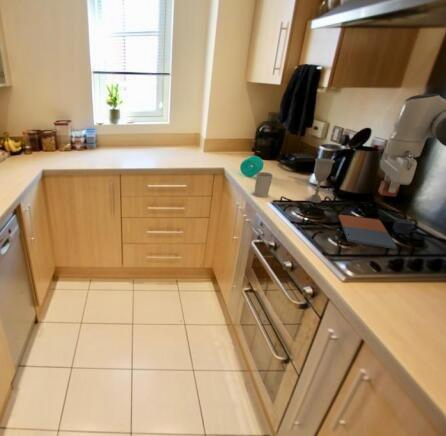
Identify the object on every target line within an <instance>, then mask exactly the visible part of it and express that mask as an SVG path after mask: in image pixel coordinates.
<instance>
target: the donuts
mask: <svg viewBox="0 0 446 436" xmlns="http://www.w3.org/2000/svg"><path fill="white" fill-rule="evenodd" d="M239 167H240V168H239V169H240V170H239V171H240V172H241V174H243V176H245V177H250V178H251V177H254V176H256V174H257V173H259V172H262V171H263V169H264V160H263V159H262V158H261V157H260V156H257V155H251V156H249V157H247V158H245V159H243V160H242V162H241V163H240V166H239Z"/></svg>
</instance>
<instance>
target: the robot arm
mask: <svg viewBox="0 0 446 436" xmlns="http://www.w3.org/2000/svg"><path fill="white" fill-rule="evenodd" d="M429 138H434V139H436V140H437V141H438V142H439V143H440V144H441V145H443V146H444V147H446V99H445V98H443V97H442V96H441V95H440V94H438V93H423V94H416V95H413V96H412V95H411V96H410V97H408V98H406V99H405V100H404V101H403V102H402V104H401V106H400V108H399V110H398V112H397V115H396V118H395V120H394V123H393V130H392V133H391V134H390V135H389V137H388V140H387V141H385V142H384V144H383V147H382V148H383V153H382V156H381V160H380V169H381V170H382V171H383V172H384V181H391V184H390V186H389V187H388V192H389V193H395V191H396V189H397V187H398V186H399V185H400V186H401V185H402V186H409V185H410V184H411V183H412V181H413V178H414V175H415V172H416V170H417V165H418V162H417V159H415V158H417V157H418V158H419V157H420V156H421V155H422V152H423V150H424V147H425V143H426V141H427V139H429Z"/></svg>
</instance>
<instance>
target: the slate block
mask: <svg viewBox="0 0 446 436" xmlns="http://www.w3.org/2000/svg"><path fill="white" fill-rule="evenodd" d="M413 227H414V222H412V221H411V219H405V218H399V217H398V218H397V217H395V220H394V222H393V225H392V228H391V229H392V230H393V232H394V233H396V234H402V235H411V233H412V231H413Z"/></svg>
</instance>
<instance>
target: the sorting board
mask: <svg viewBox="0 0 446 436" xmlns="http://www.w3.org/2000/svg"><path fill="white" fill-rule="evenodd" d="M338 219H339V222H340V225H341V228H342V231H343V233H344V236H345V239H346V241H347V242H348V243H353V244H354V243H355V244H359V245H360V244H361V245H366V246H373V247H379V248H386V249H390V250H391V249H392V250H397V249H398V248H397V247H398V246H397V244H396V243H395V241H394V240H393V238H392V236H391V235H390V234H389V232H388V230H387V228H386V227H385V225H384V224H383V222H382V221H381V220H380V219H375V218H369V217H368V218H367V217H362V216H361V217H360V216H354V215H347V214H346V215H345V214H338ZM348 234H349V235H348Z"/></svg>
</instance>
